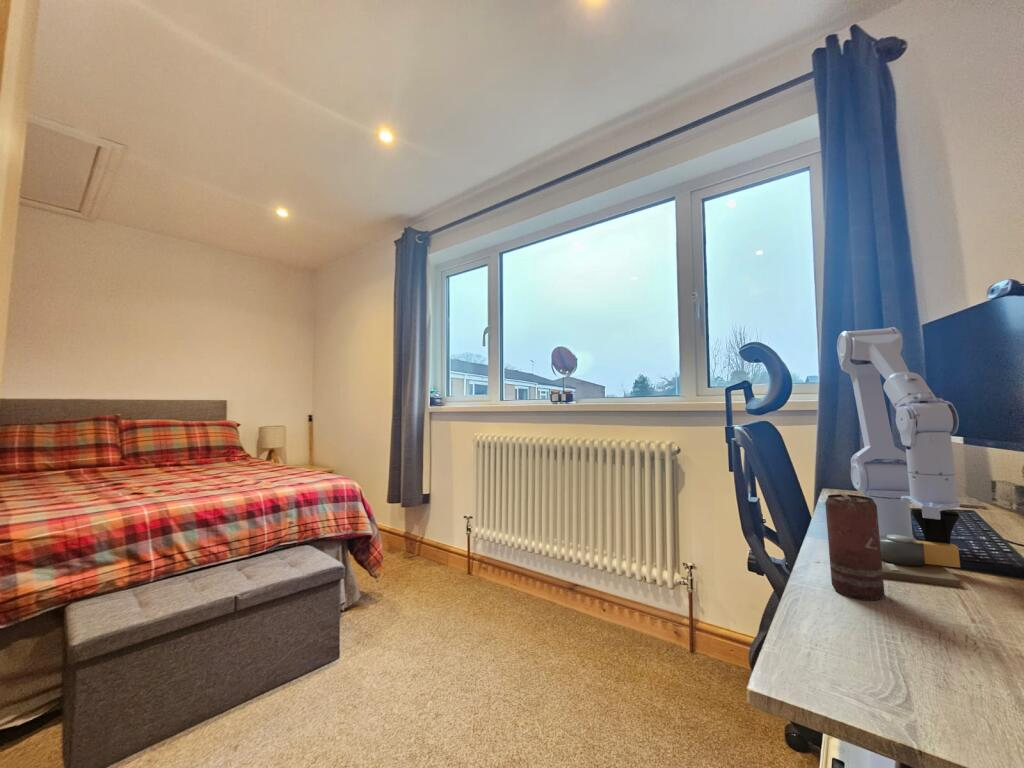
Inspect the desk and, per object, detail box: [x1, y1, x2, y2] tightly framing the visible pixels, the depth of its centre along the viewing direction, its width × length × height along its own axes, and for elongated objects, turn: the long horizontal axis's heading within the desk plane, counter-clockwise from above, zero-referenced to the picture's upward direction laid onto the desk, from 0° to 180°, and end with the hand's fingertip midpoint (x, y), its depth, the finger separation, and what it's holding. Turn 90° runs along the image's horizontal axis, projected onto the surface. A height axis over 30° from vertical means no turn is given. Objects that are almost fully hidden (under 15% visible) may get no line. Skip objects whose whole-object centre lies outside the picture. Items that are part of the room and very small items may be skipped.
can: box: [824, 493, 885, 601], centre depth 64 cm, size 6×6×14 cm
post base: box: [881, 559, 962, 588], centre depth 72 cm, size 14×10×1 cm
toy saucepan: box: [879, 535, 961, 569], centre depth 71 cm, size 10×6×4 cm, turn 59°
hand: (938, 555), depth 71 cm, fingers closed, pressing on toy saucepan
